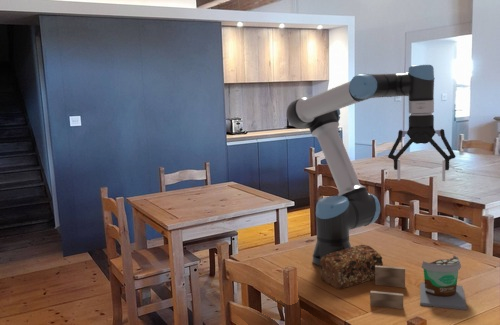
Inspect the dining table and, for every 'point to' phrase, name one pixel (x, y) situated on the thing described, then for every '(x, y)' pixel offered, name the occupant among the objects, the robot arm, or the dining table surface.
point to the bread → (350, 266)
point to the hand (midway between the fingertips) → (420, 180)
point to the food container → (441, 277)
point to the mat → (443, 299)
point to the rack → (388, 278)
